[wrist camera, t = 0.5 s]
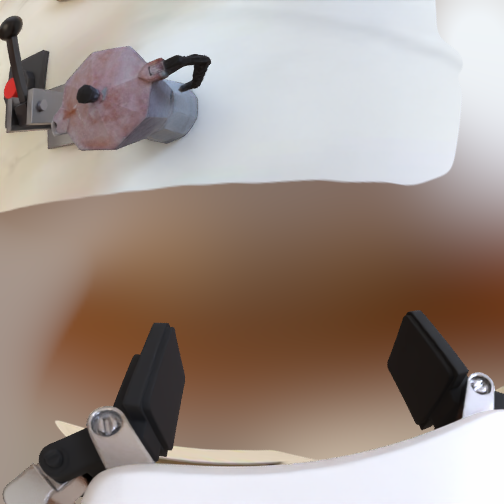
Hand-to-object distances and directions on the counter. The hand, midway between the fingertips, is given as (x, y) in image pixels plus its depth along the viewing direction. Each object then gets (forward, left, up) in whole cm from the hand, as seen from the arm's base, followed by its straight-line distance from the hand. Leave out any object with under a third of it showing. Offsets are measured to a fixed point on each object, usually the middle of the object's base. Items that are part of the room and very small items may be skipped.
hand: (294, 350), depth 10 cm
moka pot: (-13, -12, -30) cm, 35 cm away
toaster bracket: (-15, -28, -30) cm, 44 cm away
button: (-22, -39, -27) cm, 52 cm away
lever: (-21, -28, -18) cm, 39 cm away
